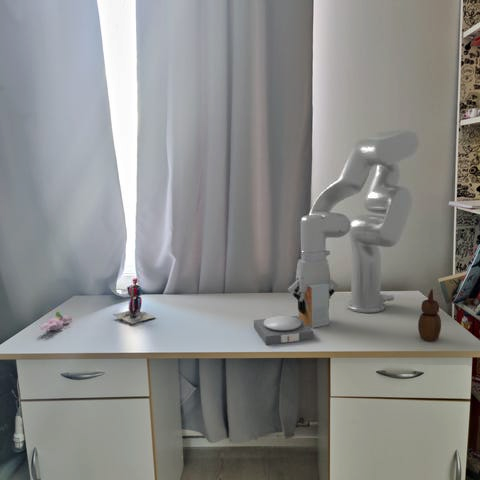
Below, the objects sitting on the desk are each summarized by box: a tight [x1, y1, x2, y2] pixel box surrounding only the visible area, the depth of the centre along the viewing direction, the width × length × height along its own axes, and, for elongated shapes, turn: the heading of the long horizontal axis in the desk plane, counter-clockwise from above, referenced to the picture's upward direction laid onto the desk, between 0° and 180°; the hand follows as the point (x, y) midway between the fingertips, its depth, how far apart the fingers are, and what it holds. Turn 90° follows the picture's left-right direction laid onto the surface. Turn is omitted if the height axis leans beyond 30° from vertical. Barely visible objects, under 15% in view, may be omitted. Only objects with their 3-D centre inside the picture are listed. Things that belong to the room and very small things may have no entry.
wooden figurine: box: [417, 288, 442, 342], centre depth 137 cm, size 7×6×15 cm
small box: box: [298, 284, 330, 329], centre depth 153 cm, size 8×6×13 cm
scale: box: [253, 315, 314, 346], centre depth 145 cm, size 14×15×4 cm
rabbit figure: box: [40, 310, 73, 331], centre depth 155 cm, size 6×6×15 cm
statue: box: [112, 277, 156, 326], centre depth 162 cm, size 11×9×15 cm
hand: (313, 311), depth 153 cm, fingers closed on small box, 7 cm apart
